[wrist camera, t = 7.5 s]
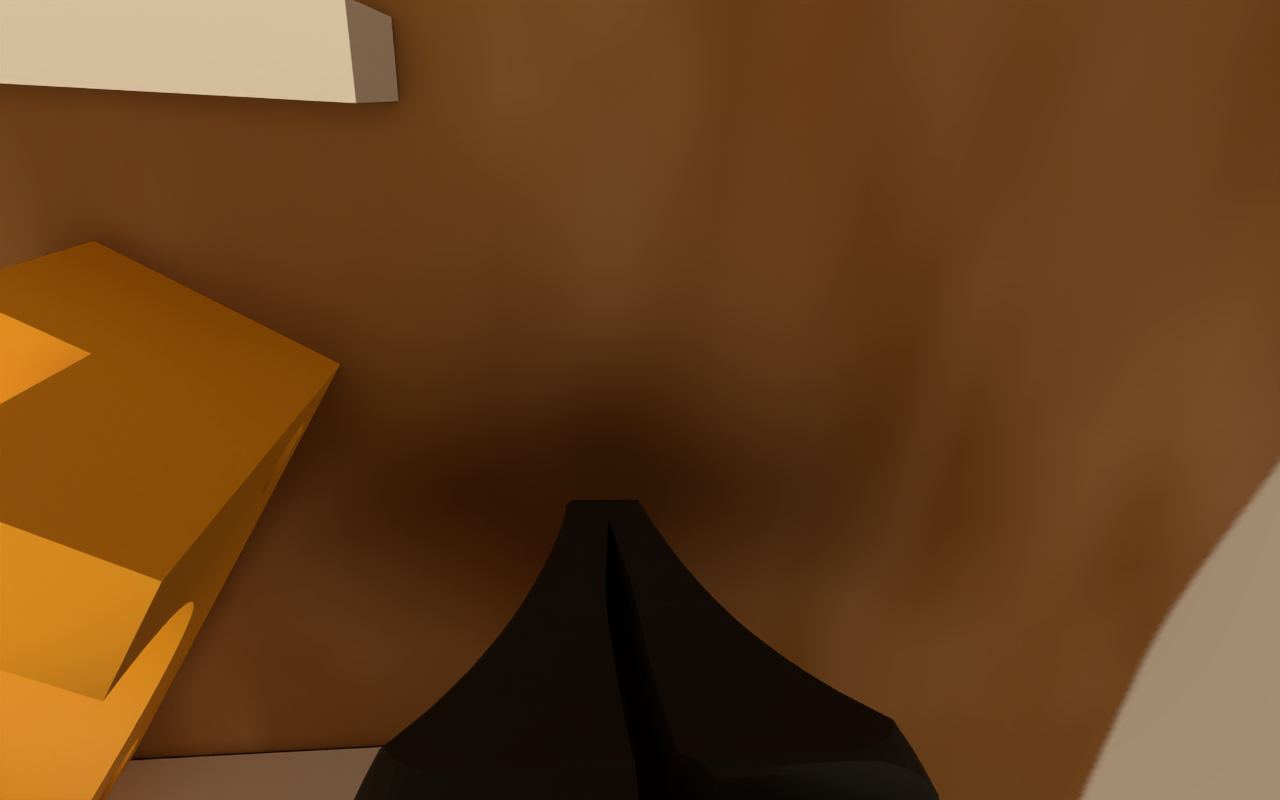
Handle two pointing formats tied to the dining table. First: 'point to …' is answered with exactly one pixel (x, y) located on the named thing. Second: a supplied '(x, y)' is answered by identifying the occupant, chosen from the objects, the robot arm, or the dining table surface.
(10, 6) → the bracket
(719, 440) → the dining table surface
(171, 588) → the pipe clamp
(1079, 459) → the dining table surface
